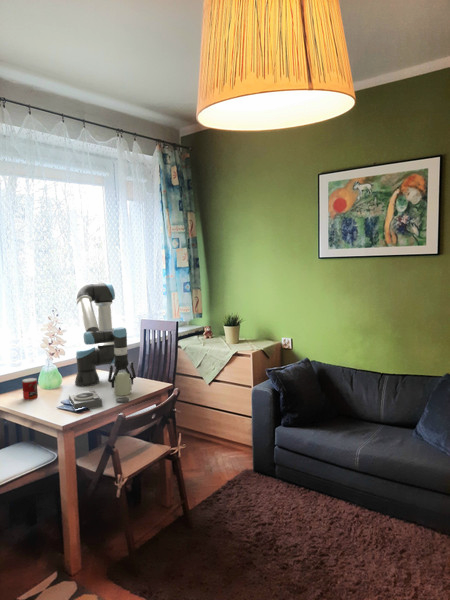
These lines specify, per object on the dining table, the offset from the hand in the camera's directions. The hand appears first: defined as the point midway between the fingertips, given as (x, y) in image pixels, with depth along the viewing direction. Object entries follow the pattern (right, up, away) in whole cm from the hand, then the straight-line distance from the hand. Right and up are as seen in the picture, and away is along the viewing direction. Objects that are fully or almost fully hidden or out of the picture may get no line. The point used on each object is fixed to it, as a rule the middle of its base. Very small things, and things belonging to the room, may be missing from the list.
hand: (122, 391), depth 254 cm
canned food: (-53, -3, -4) cm, 53 cm away
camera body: (-16, -3, -17) cm, 24 cm away
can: (0, -1, 0) cm, 1 cm away
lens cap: (+4, -3, -14) cm, 15 cm away
